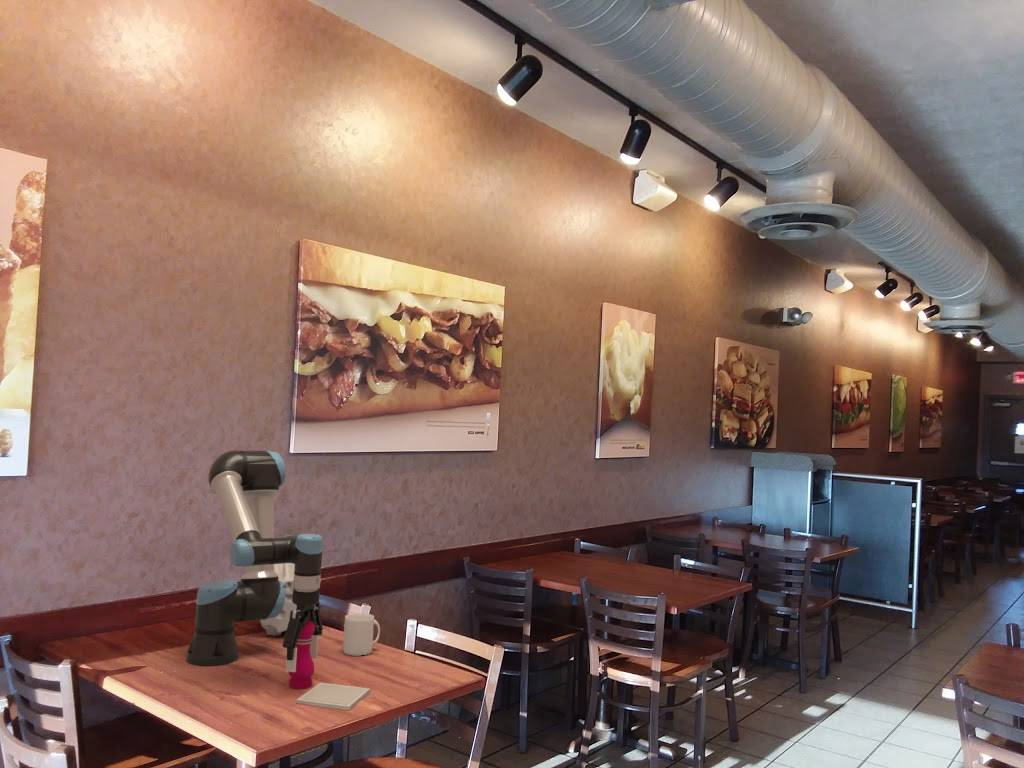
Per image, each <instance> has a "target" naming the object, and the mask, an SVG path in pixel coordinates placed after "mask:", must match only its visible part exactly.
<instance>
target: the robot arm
mask: <svg viewBox="0 0 1024 768" xmlns="http://www.w3.org/2000/svg"><path fill="white" fill-rule="evenodd" d="M286 473H287V472H286V465H285V461H284V458H283V457H282V455H281V454H280V453H279V452H277V451H270V450H236V449H235V450H229V451H226V452H224V453H222V454H221V455H219V456H217V458H216V459H215V460H214V461H213V462H212V464H211V467H210V468H209V472H208V484H209V488H210V489H211V491H212V493H214V494H215V495H217V499H218V502H219V505H220V506H221V507H220V508H221V509H222V512H223V515H224V517H225V520H226V522H227V523H226V524H227V526H228V528H229V531H230V534H231V536H232V542H231V544H230V545H229V560H230V563H231V564H232V565H233V566H234V567H245V573H244V574H243V575H242V576H241V577H240V583H239V584H238V581H237V580H235V579H231V578H230V579H217V580H212V581H209V582H206V583H204V584H202V585H201V586H200V587H198V590H197V594H196V595H197V596H196V600H195V604H196V607H195V618H194V633H193V637H192V639H191V641H190V644H189V647H188V649H187V652H186V657H185V658H186V661H187V663H190V664H191V665H198V666H220V665H226V664H229V663H233V662H235V661H237V660H238V659H239V651H240V650H239V647H238V642H237V639H236V636H235V625H236V623H241V622H243V623H244V622H251V621H260V620H261V619H262V620H266V619H269V618H274V617H276V616H278V615H279V614H280V612H281V610H282V609H283V606H284V602H285V594H286V592H285V588H284V587H285V586H284V583H283V582H282V581H280V580H278V574H276V573H275V572H274V564H284V563H293V564H295V566H294V580H293V588H294V591H293V597H292V602H293V603H294V604H296V605H297V608H296V611H292V610H291V612H290V619H289V623H288V627H287V630H286V631H285V635H284V639H283V642H282V647H283V649H285V648H286V655H285V658H286V659H285V672H287V673H288V672H296V658H297V648H296V644H297V642H298V639H299V636H300V633H301V631H302V628H303V627H304V626H305V625H306V622H307V621H309V620H310V621H312V622H313V624H314V626H315V631H314V633H313V635H312V636H311V637H312V643H311V644H310V655H311V658H312V659H316V660H317V659H318V656H319V655H318V652H319V637H320V636H322V635H323V630H324V627H323V621H322V617H321V616H322V615H321V609H320V596H321V595H320V594H321V591H320V588H321V582H322V580H323V579H322V577H321V574H322V562H323V561H322V560H323V551H324V546H323V541H324V539H323V537H322V535H320V534H318V533H317V534H315V533H302V534H298V535H294V534H293V535H292V534H291V535H290V534H288V535H284V536H282V537H275V536H274V535H275V496H276V495H277V494H278V493H279V492H280V487H281V486H283V485H284V484H285V481H286V477H287V476H286V475H287V474H286Z"/></svg>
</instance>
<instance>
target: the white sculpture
mask: <svg viewBox="0 0 1024 768" xmlns="http://www.w3.org/2000/svg"><path fill="white" fill-rule="evenodd" d="M294 566H295V564H293V563H284V564H274V572H275V573H276V574H278V580H280V581H282V582H283V583H284V586H285V587H284V588H285V592H286V594H285V602H284V606H283V609H282V610H281V612H280V614H279V615H278V616H276V617H274V618H269V619H266V620H262V619H261V620H259V623H260V624H261V628H263V629H264V630H265V631H266V634H267V635H269V636H273V637H277V636H280V635H282V633H283V632H286V631H287V627H288V623H289V619H290V612H291V610H292V611H296V608H297V605H296V604H294V603H293V602H292V597H293V591H294V588H293V580H294Z"/></svg>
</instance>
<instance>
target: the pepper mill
mask: <svg viewBox="0 0 1024 768" xmlns="http://www.w3.org/2000/svg"><path fill="white" fill-rule="evenodd" d="M314 631H315V626H314V624H313V622H312V621H310V620H309V621H307V622H306V625H305V626H304V627H303V628H302V631H301V633H300V636H299V639H298V642H297V644H296V647H295V648H297V658H296V672H288V671H287V673H288V675H289V676H290V678H289V681H288V682H289V683H288V686H289V687H290V688H291V689H294V690H301V689H302V690H303V689H308V688H310V687H312V683H313V678H312V676H313V674H314V673H315V664H314V660H313V658H311V655H310V644H311V643H312V637H311V636H312V635H313V633H314Z"/></svg>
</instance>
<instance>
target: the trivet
mask: <svg viewBox="0 0 1024 768" xmlns="http://www.w3.org/2000/svg"><path fill="white" fill-rule="evenodd" d="M370 693H371V688H369V687H367V688H365V687H359V686H352V685H344V684H335V683H327V682H320V683H318V684H317V685H315V686H314V687H312V688H311V689H309V690H308V691H307V692H305V693H304V694H303V695H301V696H299V697H298V698H297V699H296V701H295V704H298V705H306V706H312V707H313V706H314V707H320V708H327V709H332V710H333V709H335V710H343V711H350V710H351V709H352V708H353V707H355V706H356V705H357V704H358V703H359V702H360V701H362V700H363V699H364V698H365V697H366V696H368V695H369V694H370Z"/></svg>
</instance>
